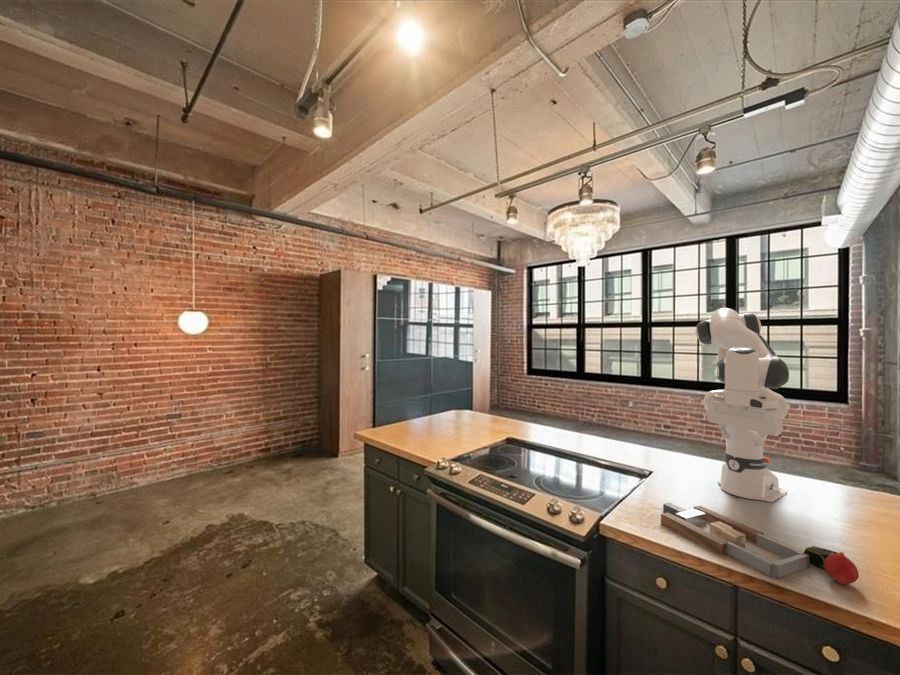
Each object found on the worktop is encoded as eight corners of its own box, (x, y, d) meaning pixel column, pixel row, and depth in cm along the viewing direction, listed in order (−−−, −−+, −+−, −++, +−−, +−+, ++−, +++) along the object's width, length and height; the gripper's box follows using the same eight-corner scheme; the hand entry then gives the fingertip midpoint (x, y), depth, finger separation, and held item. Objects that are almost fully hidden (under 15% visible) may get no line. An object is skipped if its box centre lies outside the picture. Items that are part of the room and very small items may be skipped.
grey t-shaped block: (705, 524, 119) (675, 510, 129) (705, 513, 119) (675, 500, 129) (685, 529, 116) (656, 514, 126) (685, 518, 116) (656, 504, 126)
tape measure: (850, 568, 94) (846, 552, 95) (833, 573, 92) (829, 557, 93) (817, 558, 101) (813, 543, 101) (800, 563, 98) (797, 548, 99)
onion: (817, 577, 92) (817, 545, 92) (837, 576, 93) (837, 544, 93) (843, 593, 86) (843, 559, 86) (865, 591, 87) (865, 557, 87)
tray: (759, 544, 107) (759, 533, 107) (809, 567, 96) (809, 555, 96) (726, 553, 102) (726, 542, 102) (775, 579, 91) (775, 566, 91)
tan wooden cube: (719, 534, 113) (719, 521, 113) (732, 541, 109) (732, 527, 109) (709, 536, 111) (709, 523, 111) (723, 543, 108) (723, 529, 108)
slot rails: (700, 514, 125) (699, 505, 125) (763, 543, 107) (763, 533, 108) (660, 523, 119) (661, 513, 119) (721, 555, 101) (721, 544, 101)
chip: (730, 541, 108) (730, 528, 109) (745, 549, 105) (745, 534, 105) (721, 544, 107) (721, 530, 107) (735, 551, 103) (735, 537, 103)
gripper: (702, 394, 125) (702, 435, 125) (772, 404, 106) (772, 452, 106) (715, 393, 127) (715, 433, 127) (786, 403, 108) (786, 450, 108)
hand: (741, 442), depth 116 cm, fingers open, 8 cm apart
